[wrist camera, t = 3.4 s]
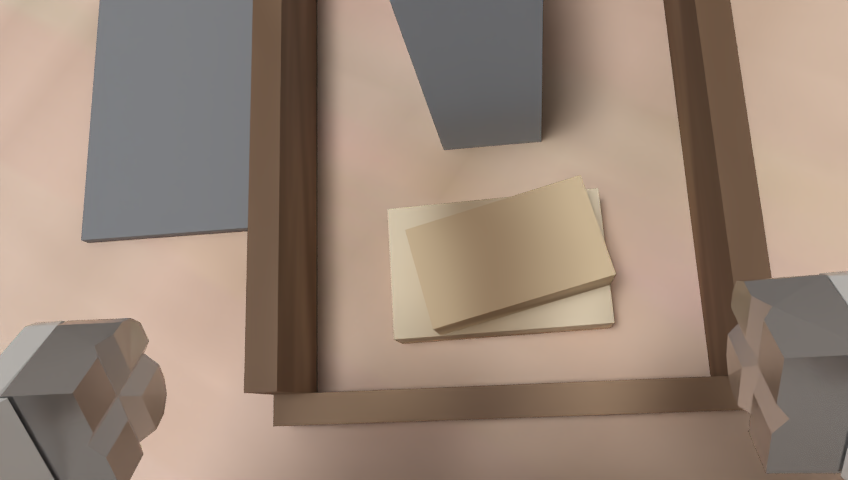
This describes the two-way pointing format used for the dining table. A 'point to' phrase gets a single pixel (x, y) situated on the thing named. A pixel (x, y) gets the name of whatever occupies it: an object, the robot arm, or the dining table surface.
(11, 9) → the dining table surface
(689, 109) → the frame
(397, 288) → the offcut lower
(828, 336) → the robot arm
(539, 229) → the offcut upper
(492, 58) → the board
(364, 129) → the dining table surface
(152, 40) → the mat
